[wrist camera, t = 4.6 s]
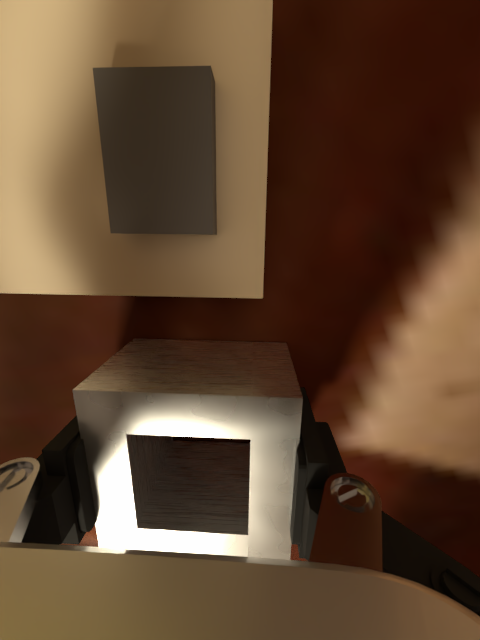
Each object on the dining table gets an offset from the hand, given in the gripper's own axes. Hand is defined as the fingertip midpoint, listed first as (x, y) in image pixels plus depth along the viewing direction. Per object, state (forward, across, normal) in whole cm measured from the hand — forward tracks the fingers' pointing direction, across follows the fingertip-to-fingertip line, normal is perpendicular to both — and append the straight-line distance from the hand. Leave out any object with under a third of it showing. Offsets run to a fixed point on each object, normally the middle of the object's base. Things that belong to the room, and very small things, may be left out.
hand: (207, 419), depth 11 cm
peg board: (+1, +8, -9) cm, 12 cm away
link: (+1, 0, 0) cm, 1 cm away
